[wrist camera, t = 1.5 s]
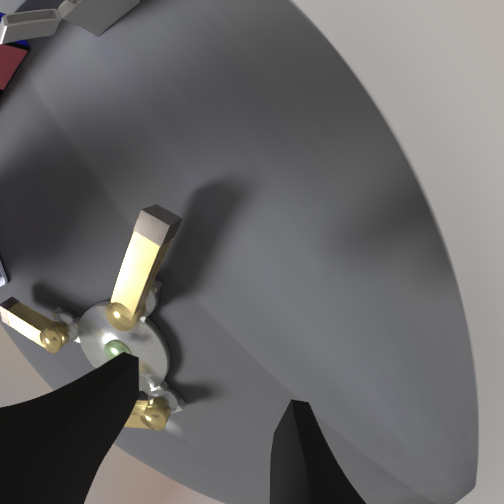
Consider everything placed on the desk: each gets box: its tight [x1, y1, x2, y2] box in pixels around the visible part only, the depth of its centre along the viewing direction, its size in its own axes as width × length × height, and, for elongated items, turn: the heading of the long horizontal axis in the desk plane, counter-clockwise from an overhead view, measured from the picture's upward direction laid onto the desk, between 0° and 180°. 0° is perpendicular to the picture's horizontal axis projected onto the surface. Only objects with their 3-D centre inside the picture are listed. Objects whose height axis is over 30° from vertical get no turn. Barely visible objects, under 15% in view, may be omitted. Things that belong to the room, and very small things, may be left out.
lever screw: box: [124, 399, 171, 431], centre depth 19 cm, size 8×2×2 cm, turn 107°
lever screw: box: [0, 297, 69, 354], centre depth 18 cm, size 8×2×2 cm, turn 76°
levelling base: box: [52, 279, 186, 413], centre depth 20 cm, size 13×12×1 cm
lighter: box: [0, 0, 140, 44], centre depth 10 cm, size 7×2×8 cm, turn 123°
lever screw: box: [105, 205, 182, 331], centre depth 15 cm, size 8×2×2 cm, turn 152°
